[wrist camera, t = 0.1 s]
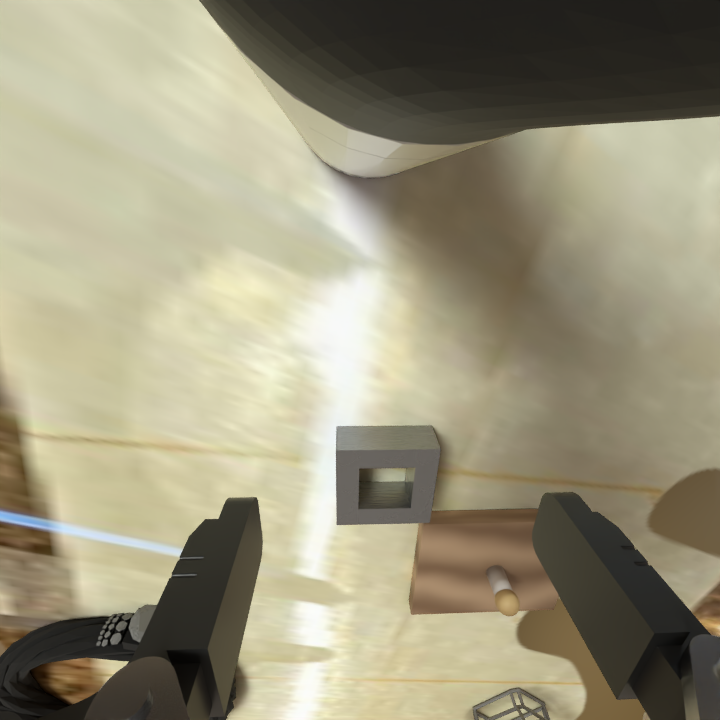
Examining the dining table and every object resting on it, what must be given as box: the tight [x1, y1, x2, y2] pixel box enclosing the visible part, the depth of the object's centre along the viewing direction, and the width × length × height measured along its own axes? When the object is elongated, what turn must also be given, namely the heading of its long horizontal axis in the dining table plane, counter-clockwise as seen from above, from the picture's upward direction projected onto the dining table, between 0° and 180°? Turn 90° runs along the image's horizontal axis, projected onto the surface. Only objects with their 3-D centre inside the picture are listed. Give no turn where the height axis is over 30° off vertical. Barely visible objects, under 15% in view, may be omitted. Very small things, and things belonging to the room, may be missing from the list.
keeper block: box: [409, 509, 559, 616], centre depth 35 cm, size 14×16×6 cm
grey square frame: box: [336, 426, 441, 525], centre depth 30 cm, size 8×8×3 cm
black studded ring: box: [0, 605, 236, 720], centre depth 43 cm, size 28×4×30 cm
